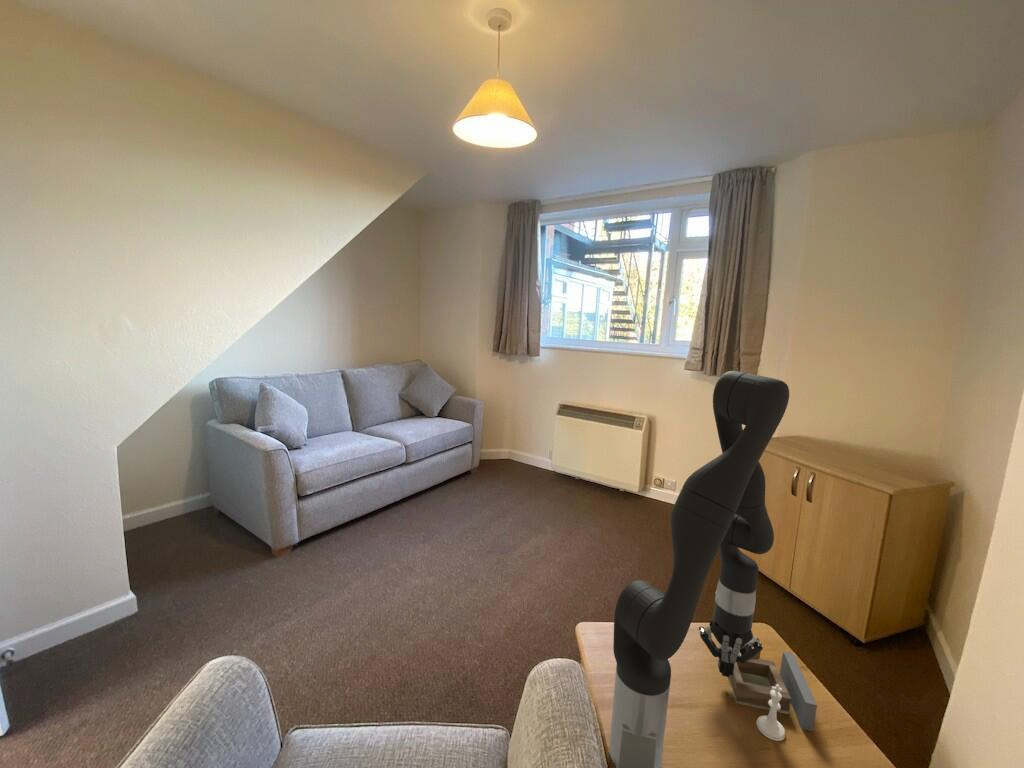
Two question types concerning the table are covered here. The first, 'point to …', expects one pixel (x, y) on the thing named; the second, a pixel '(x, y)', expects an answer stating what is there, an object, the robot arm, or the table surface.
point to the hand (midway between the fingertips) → (725, 673)
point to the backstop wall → (798, 691)
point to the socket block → (758, 684)
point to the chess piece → (772, 717)
